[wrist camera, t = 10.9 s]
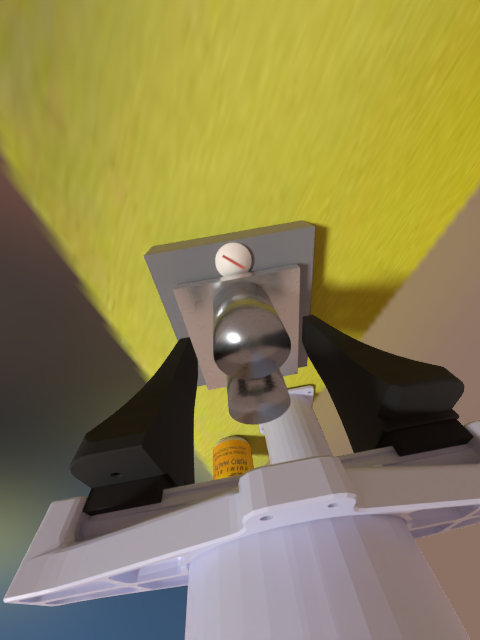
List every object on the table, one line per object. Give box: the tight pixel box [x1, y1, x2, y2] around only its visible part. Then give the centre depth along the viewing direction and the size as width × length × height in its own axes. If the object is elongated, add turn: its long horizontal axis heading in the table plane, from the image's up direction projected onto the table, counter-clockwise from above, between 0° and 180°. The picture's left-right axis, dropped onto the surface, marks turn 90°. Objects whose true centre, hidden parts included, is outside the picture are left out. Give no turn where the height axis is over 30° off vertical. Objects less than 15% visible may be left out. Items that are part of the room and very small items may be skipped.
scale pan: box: [173, 264, 300, 390], centre depth 18 cm, size 11×9×1 cm
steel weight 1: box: [213, 281, 291, 380], centre depth 14 cm, size 4×4×5 cm
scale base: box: [144, 221, 315, 386], centre depth 19 cm, size 14×12×3 cm
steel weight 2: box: [226, 368, 291, 424], centre depth 17 cm, size 4×4×5 cm
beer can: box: [213, 436, 254, 480], centre depth 28 cm, size 6×6×15 cm
